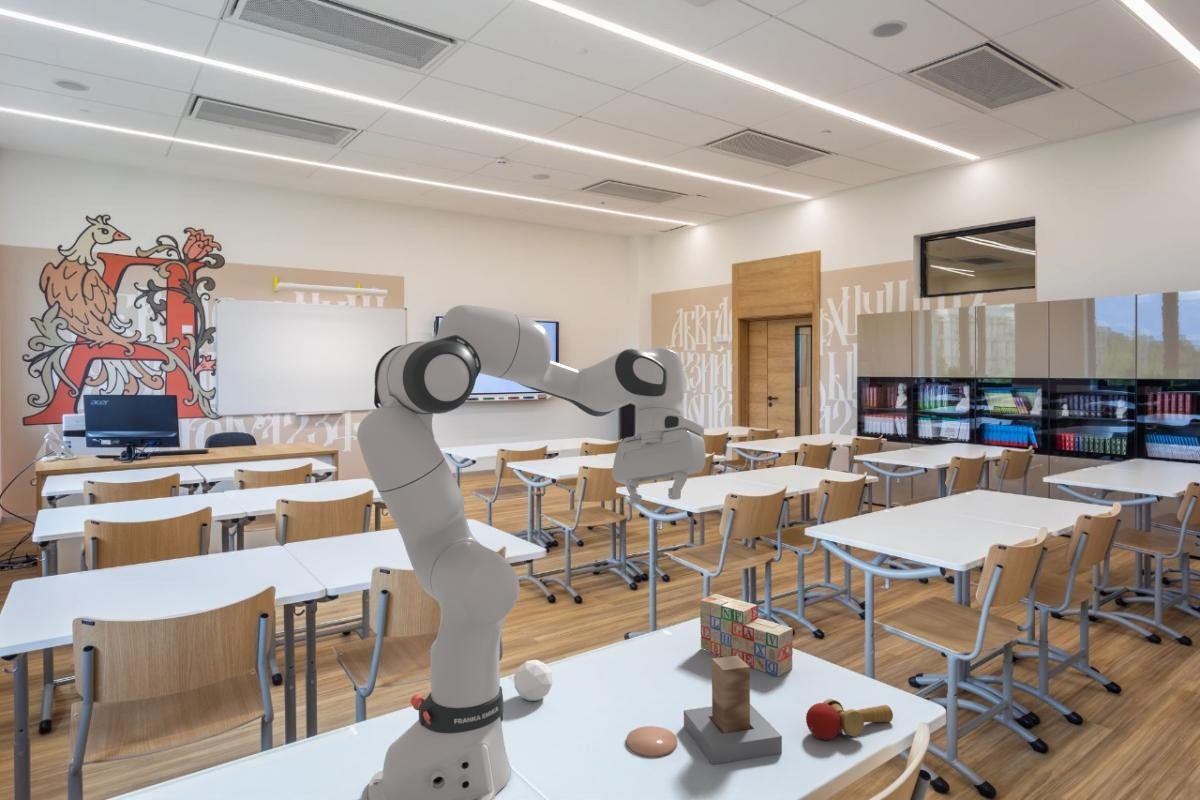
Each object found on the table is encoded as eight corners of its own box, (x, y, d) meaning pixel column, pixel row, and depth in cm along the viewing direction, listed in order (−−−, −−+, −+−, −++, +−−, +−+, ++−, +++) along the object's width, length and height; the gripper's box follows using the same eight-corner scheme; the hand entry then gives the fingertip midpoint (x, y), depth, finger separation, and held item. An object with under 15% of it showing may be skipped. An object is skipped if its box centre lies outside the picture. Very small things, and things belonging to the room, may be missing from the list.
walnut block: (723, 748, 119) (723, 670, 119) (712, 734, 124) (711, 658, 124) (750, 744, 121) (749, 666, 120) (737, 730, 125) (737, 655, 125)
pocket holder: (711, 764, 114) (711, 747, 114) (683, 726, 127) (683, 710, 127) (781, 753, 118) (781, 736, 118) (747, 716, 130) (747, 701, 130)
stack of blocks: (793, 669, 151) (793, 614, 151) (777, 678, 147) (777, 621, 147) (716, 642, 167) (715, 592, 166) (699, 649, 163) (699, 598, 162)
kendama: (867, 716, 133) (792, 722, 126) (875, 687, 132) (800, 691, 125) (897, 743, 126) (819, 751, 119) (905, 712, 125) (828, 718, 118)
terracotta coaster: (643, 762, 115) (643, 758, 115) (617, 737, 123) (617, 734, 123) (687, 747, 120) (687, 744, 120) (659, 724, 128) (659, 721, 128)
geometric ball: (532, 716, 137) (518, 695, 132) (516, 688, 143) (502, 667, 138) (564, 692, 139) (551, 671, 134) (546, 666, 145) (533, 644, 141)
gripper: (608, 434, 135) (602, 503, 130) (690, 415, 121) (686, 491, 116) (630, 443, 139) (624, 510, 134) (711, 426, 125) (709, 499, 120)
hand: (654, 501), depth 124 cm, fingers open, 8 cm apart
